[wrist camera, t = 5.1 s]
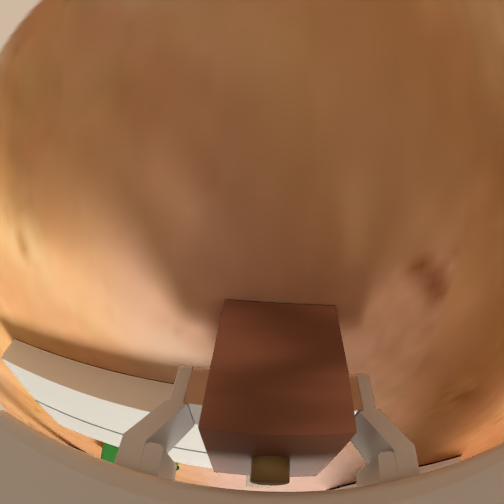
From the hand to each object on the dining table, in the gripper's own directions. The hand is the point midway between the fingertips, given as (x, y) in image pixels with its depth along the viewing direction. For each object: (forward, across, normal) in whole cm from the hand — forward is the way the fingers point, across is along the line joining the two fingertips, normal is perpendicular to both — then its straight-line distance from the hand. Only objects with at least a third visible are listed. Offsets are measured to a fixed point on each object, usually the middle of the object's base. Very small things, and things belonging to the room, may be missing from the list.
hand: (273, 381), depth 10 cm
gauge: (+2, 0, +4) cm, 4 cm away
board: (+2, +7, +9) cm, 12 cm away
